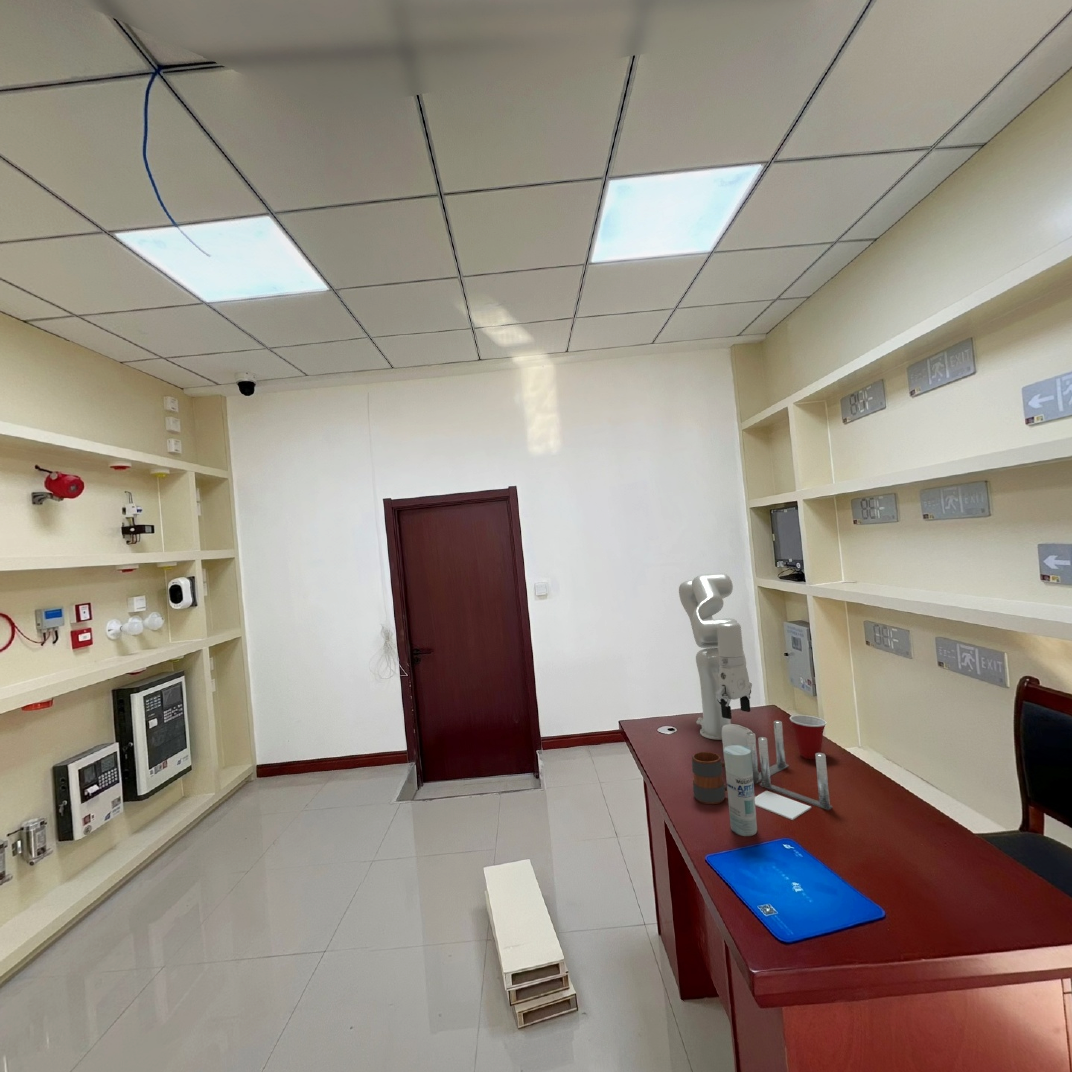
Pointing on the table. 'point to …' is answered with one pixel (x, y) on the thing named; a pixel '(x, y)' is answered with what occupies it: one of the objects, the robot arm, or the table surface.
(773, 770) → the gate
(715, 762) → the mug
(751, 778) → the spray paint can
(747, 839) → the table surface
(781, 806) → the mat
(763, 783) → the gate
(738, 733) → the photo printer
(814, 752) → the plastic cup
